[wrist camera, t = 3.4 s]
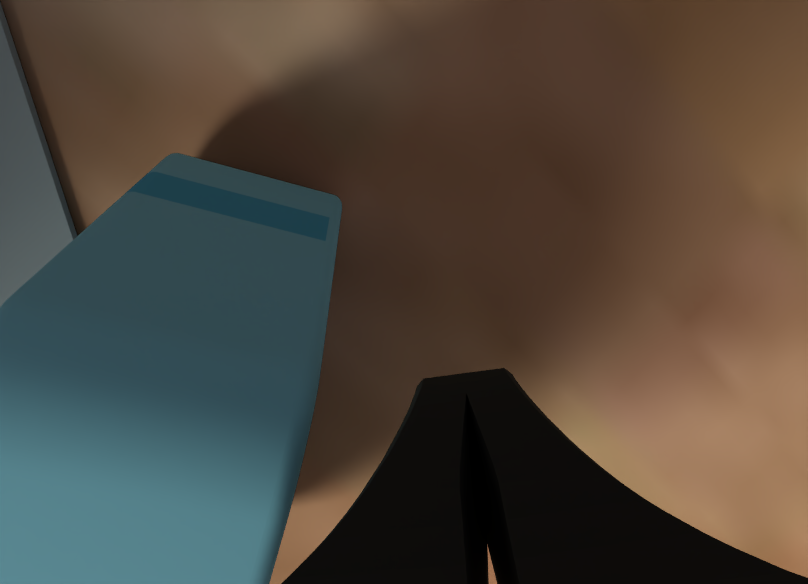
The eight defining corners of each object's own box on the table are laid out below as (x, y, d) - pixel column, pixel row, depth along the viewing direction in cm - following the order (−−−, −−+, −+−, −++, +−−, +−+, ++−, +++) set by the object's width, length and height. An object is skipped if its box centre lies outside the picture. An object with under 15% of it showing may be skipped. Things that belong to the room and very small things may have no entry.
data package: (180, 137, 20) (-56, 341, 9) (346, 182, 21) (316, 424, 10) (116, 498, 24) (-97, 933, 13) (255, 526, 25) (162, 963, 14)
